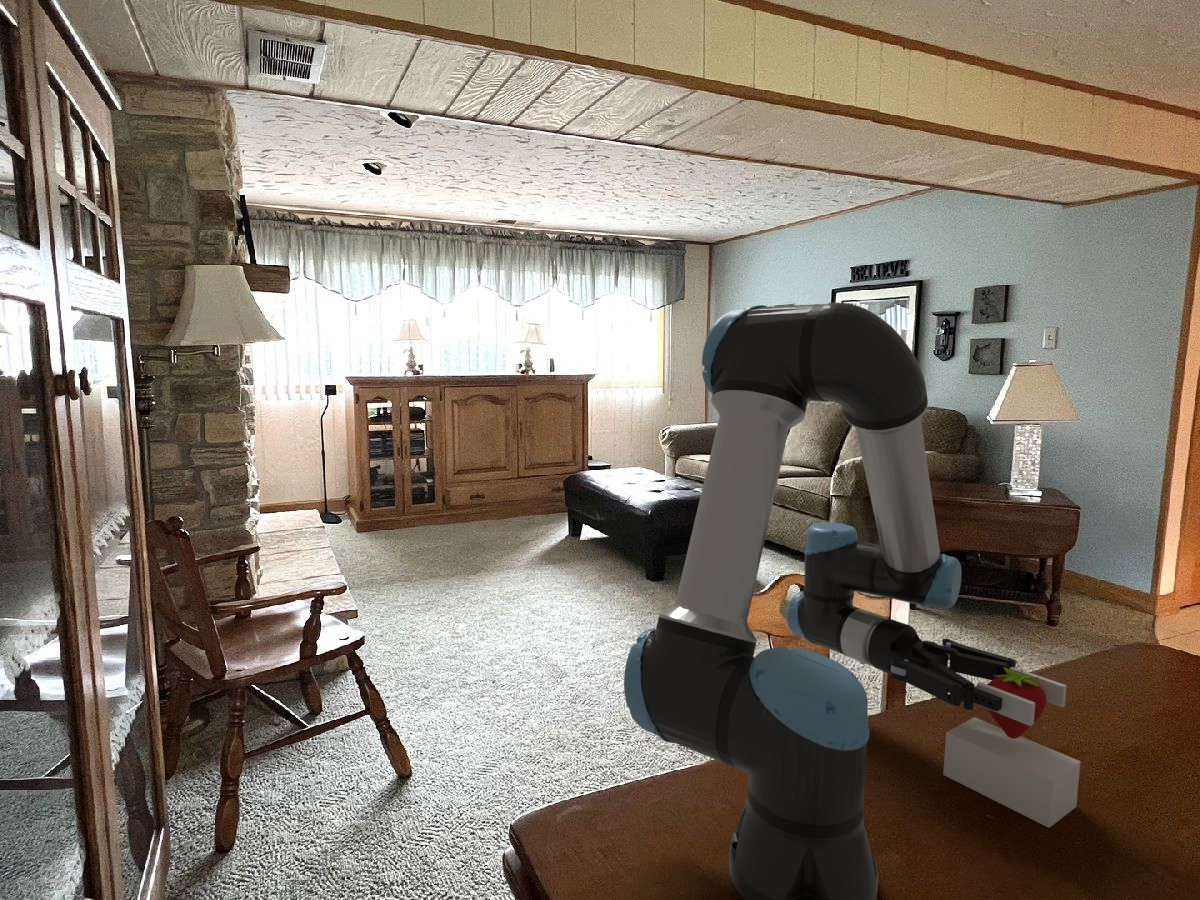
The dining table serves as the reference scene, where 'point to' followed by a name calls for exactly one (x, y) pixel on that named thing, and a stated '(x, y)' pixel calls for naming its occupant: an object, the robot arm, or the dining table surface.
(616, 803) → the dining table surface
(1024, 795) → the block
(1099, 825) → the dining table surface
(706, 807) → the dining table surface
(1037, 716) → the strawberry
